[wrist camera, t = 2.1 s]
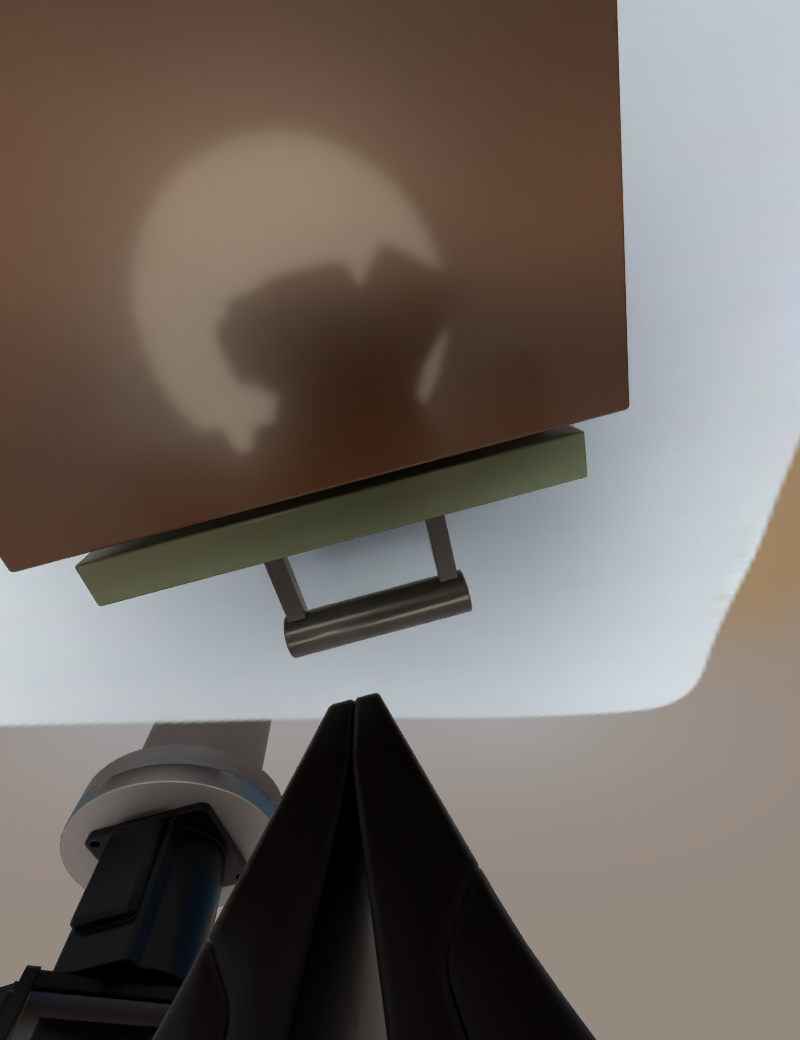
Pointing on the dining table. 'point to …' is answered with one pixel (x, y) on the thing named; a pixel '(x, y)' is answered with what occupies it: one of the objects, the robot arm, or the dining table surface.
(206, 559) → the drawer
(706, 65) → the dining table surface
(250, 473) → the cabinet
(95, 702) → the dining table surface
